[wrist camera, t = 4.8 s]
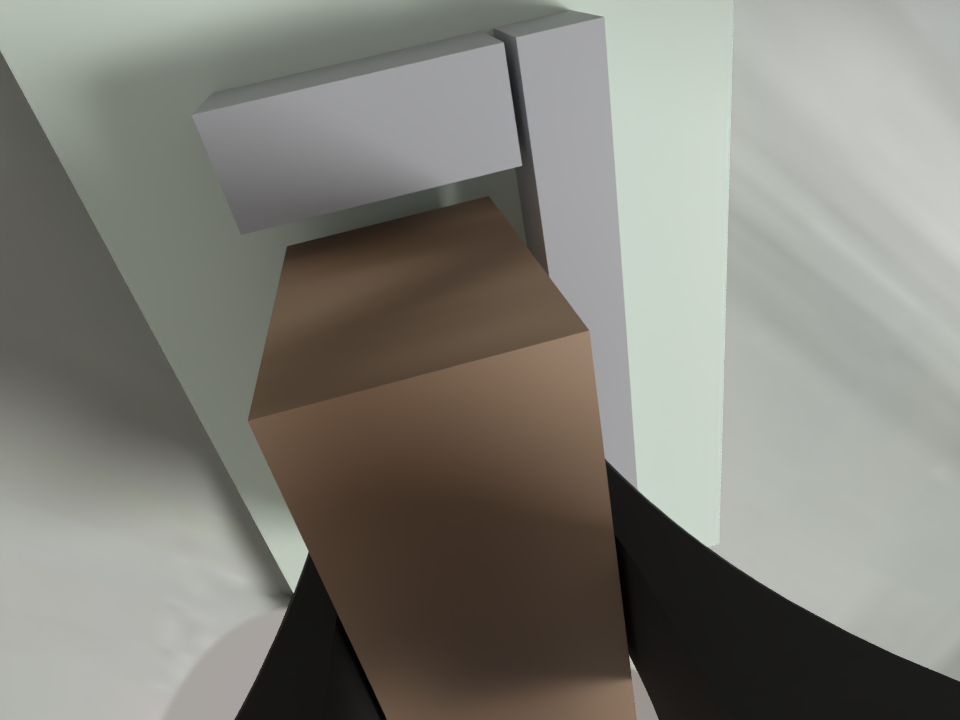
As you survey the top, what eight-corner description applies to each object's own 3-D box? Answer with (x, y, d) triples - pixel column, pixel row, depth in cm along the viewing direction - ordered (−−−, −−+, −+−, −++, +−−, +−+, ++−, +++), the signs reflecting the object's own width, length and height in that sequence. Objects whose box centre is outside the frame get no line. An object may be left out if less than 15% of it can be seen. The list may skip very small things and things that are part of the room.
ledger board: (709, -1097, 7) (920, -1691, 5) (701, 516, 22) (752, 593, 19) (-484, -951, 7) (-1028, -1558, 4) (328, 624, 21) (327, 718, 19)
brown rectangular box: (488, 196, 13) (589, 330, 8) (550, 525, 17) (640, 750, 12) (285, 246, 12) (245, 421, 7) (403, 566, 17) (430, 814, 12)
